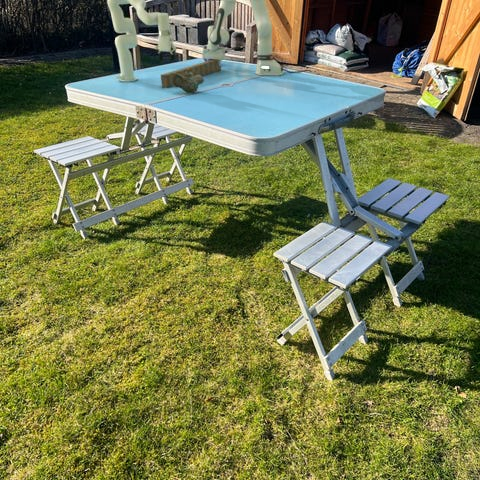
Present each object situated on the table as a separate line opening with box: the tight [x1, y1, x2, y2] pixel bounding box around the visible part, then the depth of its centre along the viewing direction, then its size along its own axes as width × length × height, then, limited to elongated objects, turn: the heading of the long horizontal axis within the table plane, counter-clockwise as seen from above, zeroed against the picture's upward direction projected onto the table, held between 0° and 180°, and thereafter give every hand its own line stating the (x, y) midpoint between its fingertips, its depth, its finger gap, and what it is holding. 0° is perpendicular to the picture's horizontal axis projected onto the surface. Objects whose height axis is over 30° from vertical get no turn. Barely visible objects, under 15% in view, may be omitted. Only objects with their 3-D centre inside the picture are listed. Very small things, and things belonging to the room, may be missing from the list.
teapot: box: [173, 69, 205, 94], centre depth 298 cm, size 21×12×15 cm, turn 109°
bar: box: [160, 59, 222, 89], centre depth 345 cm, size 77×5×8 cm, turn 152°
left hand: (167, 60), depth 313 cm, fingers open, 9 cm apart
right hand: (214, 64), depth 369 cm, fingers open, 8 cm apart
